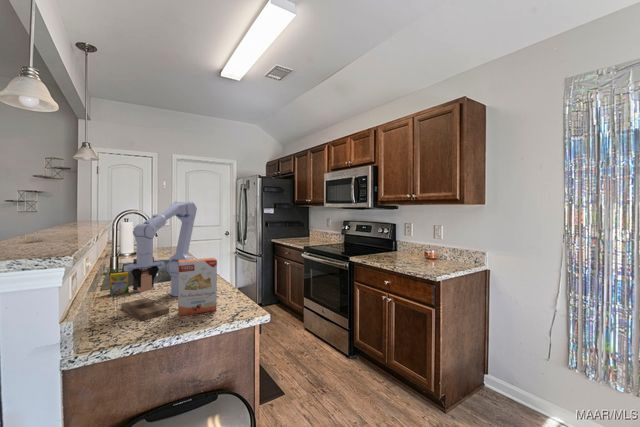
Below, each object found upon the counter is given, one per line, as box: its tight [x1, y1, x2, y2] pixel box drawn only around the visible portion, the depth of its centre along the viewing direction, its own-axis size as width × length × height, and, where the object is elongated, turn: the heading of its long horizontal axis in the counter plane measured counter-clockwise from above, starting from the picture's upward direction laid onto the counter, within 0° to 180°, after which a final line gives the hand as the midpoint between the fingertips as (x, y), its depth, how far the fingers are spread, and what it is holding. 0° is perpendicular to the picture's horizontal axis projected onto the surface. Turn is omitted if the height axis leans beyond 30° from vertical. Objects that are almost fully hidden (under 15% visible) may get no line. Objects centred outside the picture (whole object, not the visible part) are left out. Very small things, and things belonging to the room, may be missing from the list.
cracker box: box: [177, 257, 218, 317], centre depth 119 cm, size 14×6×21 cm, turn 117°
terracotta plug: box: [137, 274, 153, 293], centre depth 123 cm, size 4×4×6 cm
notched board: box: [120, 297, 170, 321], centre depth 120 cm, size 10×20×2 cm, turn 52°
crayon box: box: [109, 267, 130, 296], centre depth 142 cm, size 7×3×12 cm, turn 126°
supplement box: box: [132, 256, 155, 293], centre depth 149 cm, size 9×5×16 cm, turn 168°
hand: (145, 286), depth 123 cm, fingers closed on terracotta plug, 4 cm apart
